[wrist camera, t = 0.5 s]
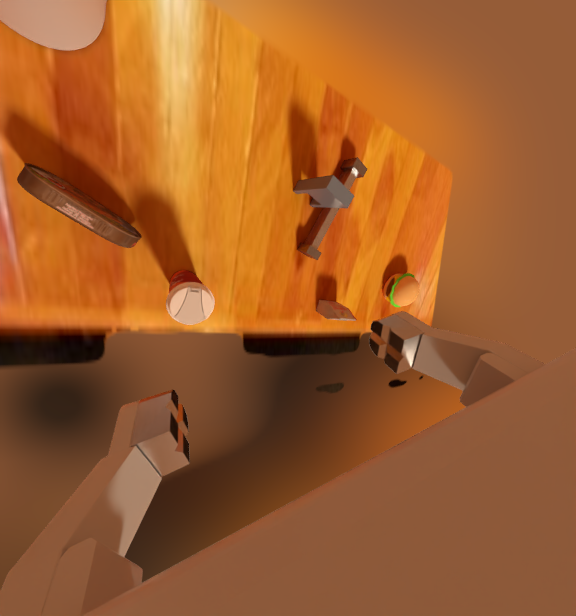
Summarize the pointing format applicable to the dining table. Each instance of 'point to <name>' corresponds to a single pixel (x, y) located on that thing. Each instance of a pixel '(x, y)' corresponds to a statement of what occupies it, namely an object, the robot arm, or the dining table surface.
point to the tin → (77, 206)
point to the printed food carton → (334, 310)
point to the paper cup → (189, 298)
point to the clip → (325, 192)
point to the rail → (331, 209)
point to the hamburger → (401, 289)
